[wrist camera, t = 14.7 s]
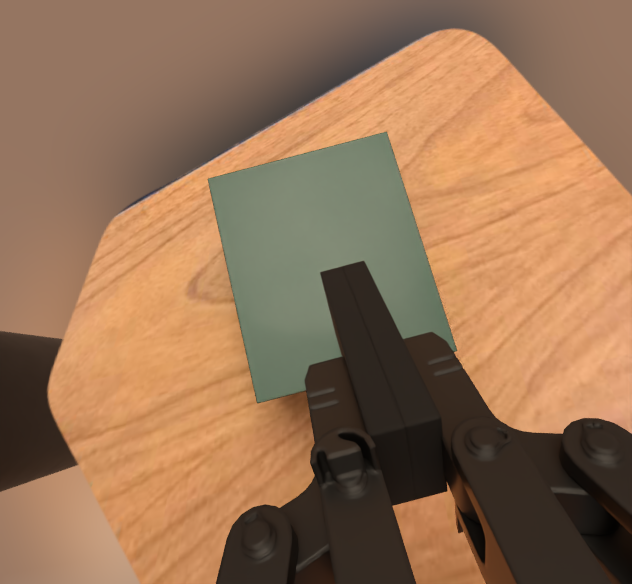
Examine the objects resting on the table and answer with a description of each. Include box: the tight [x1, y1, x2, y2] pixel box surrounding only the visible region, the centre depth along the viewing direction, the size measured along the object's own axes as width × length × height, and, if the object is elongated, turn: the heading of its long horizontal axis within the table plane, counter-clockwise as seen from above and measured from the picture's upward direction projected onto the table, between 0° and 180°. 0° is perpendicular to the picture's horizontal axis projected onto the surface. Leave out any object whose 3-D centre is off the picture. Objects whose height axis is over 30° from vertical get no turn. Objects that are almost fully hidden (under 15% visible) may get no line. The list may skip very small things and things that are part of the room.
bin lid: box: [208, 132, 457, 403], centre depth 30 cm, size 16×14×1 cm
